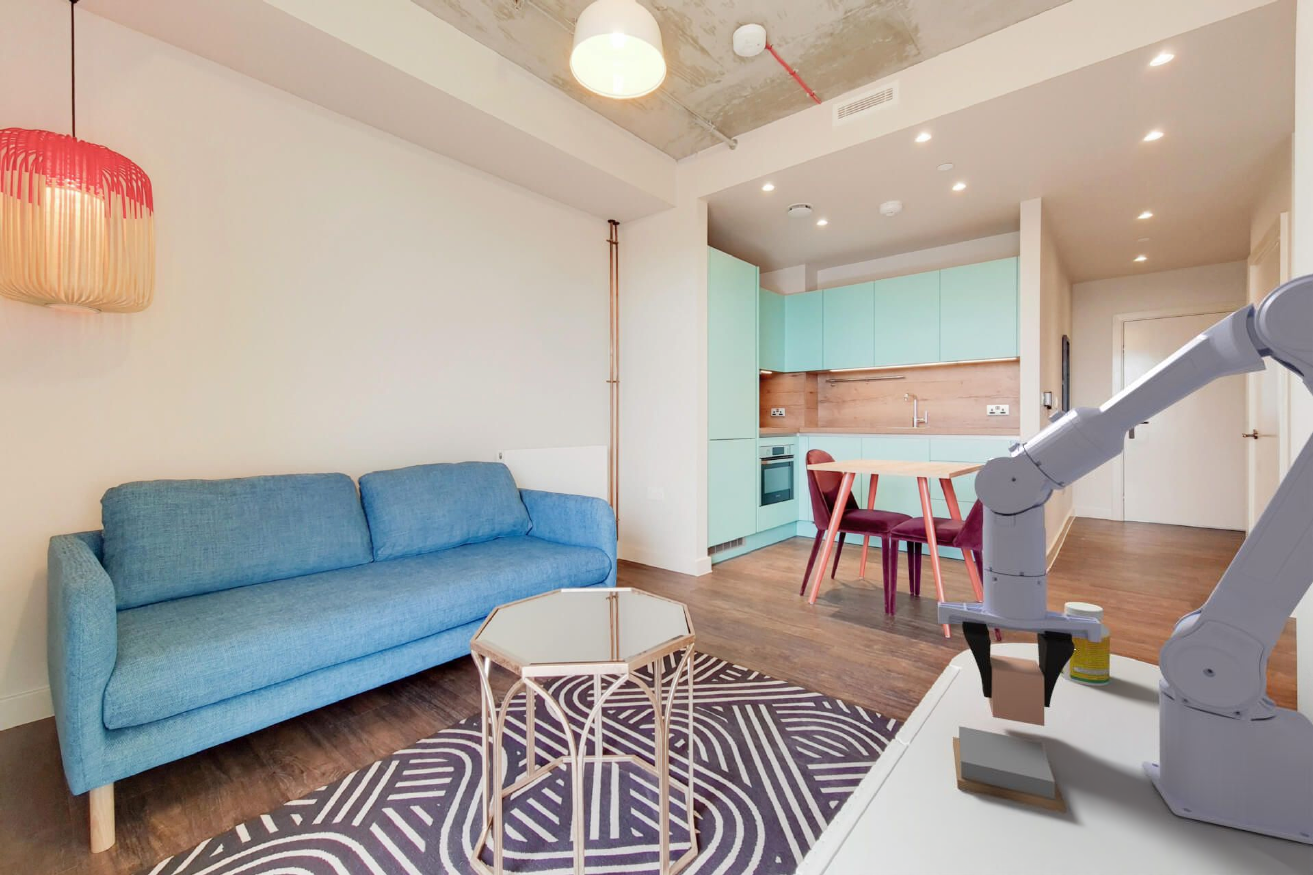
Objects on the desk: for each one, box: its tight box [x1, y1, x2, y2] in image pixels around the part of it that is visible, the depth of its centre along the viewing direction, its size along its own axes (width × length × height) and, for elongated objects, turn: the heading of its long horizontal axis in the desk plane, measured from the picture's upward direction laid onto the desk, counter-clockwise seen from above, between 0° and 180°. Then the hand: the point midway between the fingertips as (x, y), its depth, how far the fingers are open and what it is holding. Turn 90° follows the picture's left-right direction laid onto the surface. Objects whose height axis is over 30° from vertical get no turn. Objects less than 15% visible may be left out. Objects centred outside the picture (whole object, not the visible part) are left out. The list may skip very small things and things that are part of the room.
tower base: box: [952, 736, 1066, 814], centre depth 53 cm, size 8×8×2 cm
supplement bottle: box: [1059, 601, 1111, 687], centre depth 73 cm, size 5×5×10 cm
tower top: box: [958, 725, 1055, 800], centre depth 53 cm, size 7×7×2 cm
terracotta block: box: [988, 654, 1045, 727], centre depth 60 cm, size 4×4×5 cm
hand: (1014, 698), depth 60 cm, fingers closed on terracotta block, 4 cm apart
